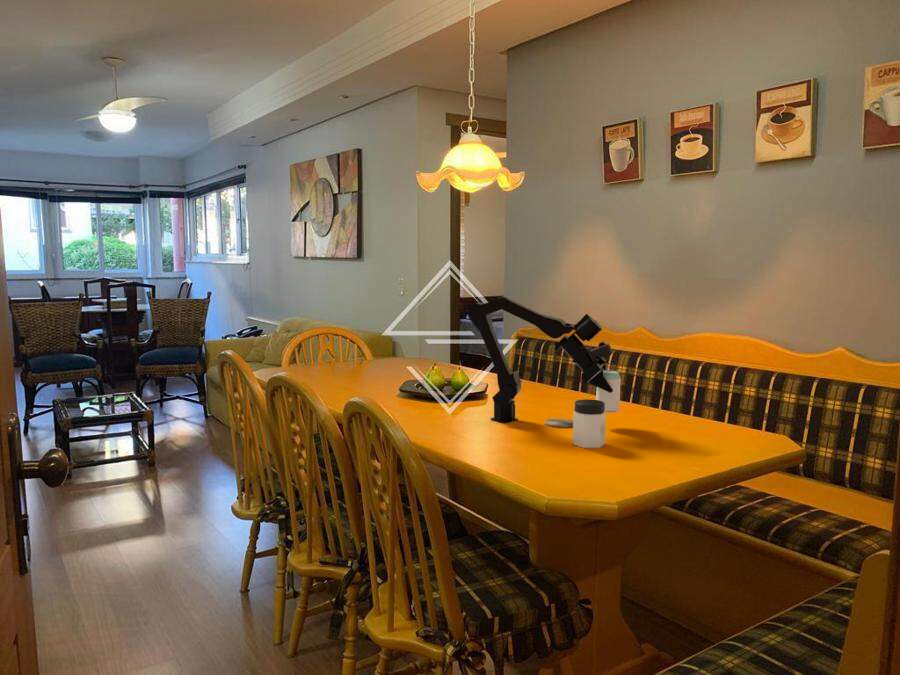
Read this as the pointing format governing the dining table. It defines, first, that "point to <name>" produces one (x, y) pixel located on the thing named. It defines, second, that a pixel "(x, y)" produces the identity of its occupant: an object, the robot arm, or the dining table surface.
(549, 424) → the coaster
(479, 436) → the dining table surface
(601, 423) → the jar
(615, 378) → the can
